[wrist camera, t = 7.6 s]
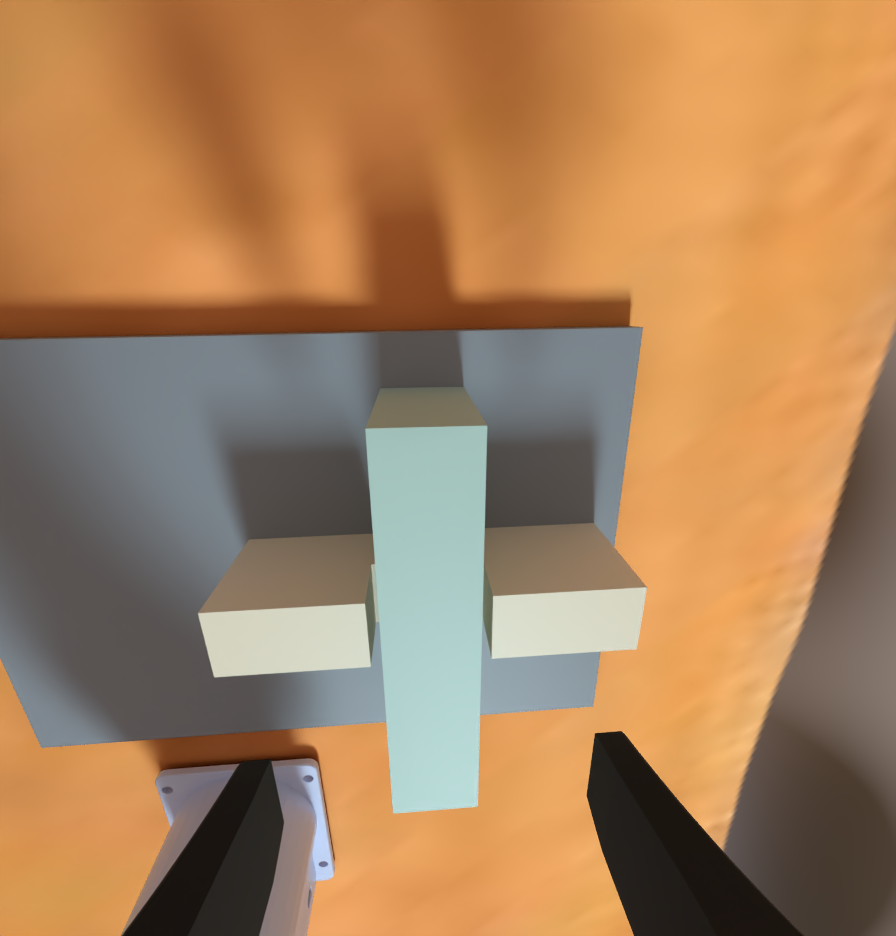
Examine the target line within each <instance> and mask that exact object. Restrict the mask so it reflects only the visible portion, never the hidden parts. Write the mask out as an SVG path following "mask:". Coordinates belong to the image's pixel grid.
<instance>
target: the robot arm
mask: <svg viewBox="0 0 896 936" xmlns="http://www.w3.org/2000/svg"><path fill="white" fill-rule="evenodd" d="M155 784H156V786H157V789H158V792H159V795H160V798H161V801H162V804H163V806H164V809H165V812H166V815H167V818H168V821H169V824H170V827H171V828H170V830H169V832H168V835H167V837H166V839H165V841H164V843H163V845H162V848H161V850H160V852H159V854H158V856H157V858H156V861H155V863H154V865H153V867H152V869H151V871H150V874H149V876H148V878H147V880H146V882H145V884H144V887H143V889H142V891H141V893H140V895H139V897H138V900H137V902H136V904H135V906H134V908H133V910H132V913H131V915H130V917H129V919H128V921H127V923H126V926H125V928H124V930H123V932H122V934H121V936H307V932H308V926H309V921H310V915H311V909H312V903H313V897H314V891H315V885H316V881H320V880H328V879H330V878H332V877H333V876H334V871H335V864H334V858H333V852H332V845H331V839H330V833H329V827H328V821H327V815H326V809H325V802H324V796H323V790H322V784H321V778H320V772H319V766H318V763H317V761H315V760H314V759H311V758H305V759H292V760H280V761H271V759H268V760H255V761H243V762H241V763H240V764H229V765H216V766H204V767H191V768H178V769H167V770H163V771H161V772H160V773H159V775H158V776H157V778H156V780H155ZM587 798H588V802H589V806H590V809H591V813H592V817H593V820H594V824H595V828H596V831H597V834H598V838H599V841H600V845H601V848H602V852H603V854H604V857H605V860H606V863H607V865H608V868H609V871H610V873H611V876H612V879H613V881H614V884H615V886H616V889H617V892H618V894H619V897H620V900H621V902H622V905H623V908H624V910H625V913H626V916H627V918H628V921H629V923H630V926H631V929H632V931H633V934H634V936H804V935H803V934H802V933H801V932H800V931H799V930H798V929H797V928H796V927H795V926H794V925H792V923H791V922H790V921H789V920H788V919H787V918H786V917H785V916H784V915H783V914H782V913H781V912H780V911H779V910H778V909H777V908H776V907H775V906H774V905H773V904H772V903H771V902H770V901H769V900H768V899H767V898H766V897H765V896H764V895H763V894H762V893H761V892H760V891H759V890H758V889H757V887H756V886H755V885H754V884H753V883H752V882H751V881H750V880H749V879H748V878H747V877H746V876H745V875H744V874H743V873H742V871H741V870H740V869H739V868H738V867H737V866H736V865H735V864H734V863H733V862H732V861H731V860H730V859H729V857H728V856H727V855H726V854H725V853H724V852H723V851H722V850H721V849H720V847H719V846H718V845H717V844H716V843H715V842H714V841H713V840H712V838H711V837H710V836H709V835H708V834H707V833H706V832H705V830H704V829H703V828H702V827H701V826H700V825H699V824H698V822H697V821H696V820H695V819H694V818H693V817H692V816H691V815H690V813H689V812H688V811H687V810H686V809H685V808H684V806H683V805H682V804H681V803H680V802H679V800H678V799H677V798H676V797H675V796H674V795H673V793H672V792H671V791H670V790H669V789H668V787H667V786H666V785H665V784H664V782H663V781H662V780H661V779H660V778H659V776H658V775H657V774H656V773H655V771H654V770H653V769H652V768H651V767H650V765H649V764H648V763H647V762H646V760H645V759H644V758H643V757H642V755H641V754H640V753H639V752H638V750H637V749H636V748H635V747H634V745H633V744H632V743H631V741H630V740H629V739H628V738H627V736H626V735H625V734H624V733H623V732H622V731H618V732H606V733H595V738H594V745H593V753H592V760H591V768H590V775H589V782H588V790H587Z"/></svg>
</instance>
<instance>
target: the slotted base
mask: <svg viewBox="0 0 896 936" xmlns="http://www.w3.org/2000/svg"><path fill="white" fill-rule="evenodd" d="M642 330H643V327H633V326H612V327H560V328H508V329H457V330H405V331H353V332H301V333H250V334H198V335H146V336H94V337H43V338H0V659H1V661H2V663H3V665H4V667H5V669H6V672H7V674H8V676H9V678H10V680H11V682H12V685H13V687H14V689H15V691H16V693H17V696H18V698H19V700H20V702H21V704H22V706H23V709H24V711H25V713H26V715H27V717H28V720H29V722H30V724H31V726H32V728H33V730H34V733H35V735H36V737H37V739H38V741H39V744H40V746H41V748H45V747H58V746H71V745H85V744H98V743H112V742H125V741H138V740H152V739H165V738H178V737H192V736H205V735H219V734H232V733H245V732H259V731H272V730H285V729H299V728H312V727H326V726H339V725H352V724H366V723H379V722H386V708H385V694H384V680H383V667H382V653H381V639H380V625H379V611H378V598H377V584H376V570H375V556H374V542H373V529H372V515H371V501H370V487H369V474H368V460H367V446H366V432H365V428H366V425H367V423H368V420H369V417H370V415H371V412H372V409H373V407H374V404H375V402H376V399H377V396H378V394H379V391H380V388H420V387H464V388H465V390H466V391H467V393H468V395H469V396H470V398H471V399H472V401H473V403H474V404H475V406H476V408H477V409H478V411H479V413H480V414H481V416H482V418H483V419H484V421H485V423H486V424H487V457H486V497H485V537H484V577H483V616H482V656H481V696H480V715H486V714H499V713H513V712H526V711H540V710H553V709H566V708H580V707H593V705H594V697H595V689H596V682H597V674H598V666H599V659H600V652H601V651H616V650H631V649H637V644H638V638H639V632H640V626H641V620H642V614H643V608H644V602H645V596H646V590H647V587H646V585H645V584H644V583H643V582H642V581H641V579H640V578H639V577H638V576H637V575H636V573H635V572H634V571H633V570H632V568H631V567H630V566H629V565H628V564H627V562H626V561H625V560H624V559H623V558H622V556H621V555H620V554H619V553H618V551H617V550H616V549H615V548H614V544H615V536H616V529H617V521H618V513H619V506H620V498H621V491H622V483H623V475H624V468H625V460H626V452H627V445H628V437H629V429H630V422H631V414H632V406H633V399H634V391H635V384H636V376H637V368H638V361H639V353H640V345H641V338H642Z"/></svg>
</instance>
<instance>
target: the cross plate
mask: <svg viewBox="0 0 896 936" xmlns="http://www.w3.org/2000/svg"><path fill="white" fill-rule="evenodd" d="M365 432H366V446H367V460H368V474H369V487H370V501H371V515H372V529H373V542H374V556H375V570H376V584H377V598H378V611H379V625H380V639H381V653H382V667H383V680H384V694H385V708H386V722H387V735H388V749H389V763H390V777H391V791H392V804H393V813H405V812H417V811H429V810H442V809H454V808H466V807H478V775H479V736H480V696H481V656H482V616H483V577H484V537H485V497H486V457H487V424H486V423H485V421H484V419H483V418H482V416H481V414H480V413H479V411H478V409H477V408H476V406H475V404H474V403H473V401H472V399H471V398H470V396H469V395H468V393H467V391H466V390H465V388H464V387H420V388H380V391H379V394H378V396H377V399H376V402H375V404H374V407H373V409H372V412H371V415H370V417H369V420H368V423H367V425H366V428H365Z"/></svg>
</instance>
